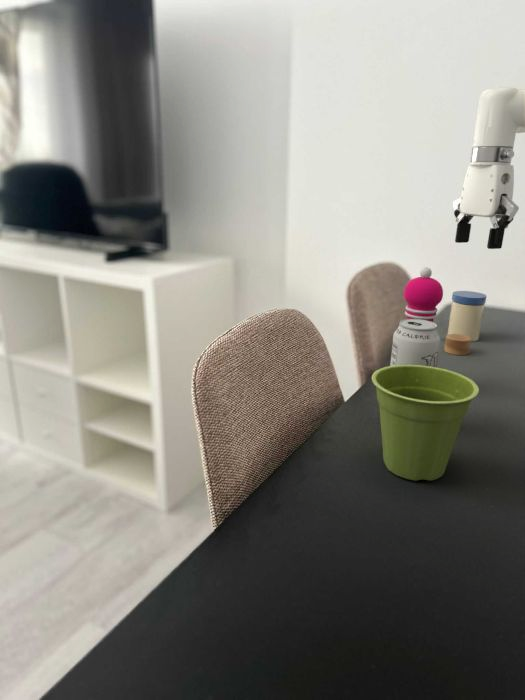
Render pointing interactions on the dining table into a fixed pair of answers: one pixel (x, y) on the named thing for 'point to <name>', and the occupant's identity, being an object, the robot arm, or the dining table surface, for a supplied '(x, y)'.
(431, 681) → the dining table surface
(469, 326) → the jar
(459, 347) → the stand
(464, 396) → the plant pot
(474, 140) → the robot arm
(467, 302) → the jar lid
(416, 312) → the pepper mill
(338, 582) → the dining table surface
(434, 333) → the energy drink can
